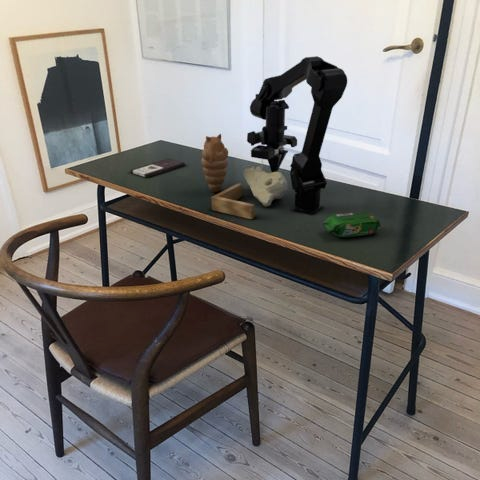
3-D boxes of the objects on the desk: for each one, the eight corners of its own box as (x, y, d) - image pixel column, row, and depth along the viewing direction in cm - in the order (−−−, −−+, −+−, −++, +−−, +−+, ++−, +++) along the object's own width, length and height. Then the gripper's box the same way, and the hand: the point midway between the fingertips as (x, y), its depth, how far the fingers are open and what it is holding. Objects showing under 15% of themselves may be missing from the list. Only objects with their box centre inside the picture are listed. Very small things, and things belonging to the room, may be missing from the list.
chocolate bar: (184, 162, 193) (146, 174, 182) (184, 165, 194) (147, 177, 182) (168, 158, 198) (130, 169, 187) (168, 160, 199) (130, 172, 188)
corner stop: (276, 203, 160) (276, 191, 158) (251, 219, 150) (251, 206, 148) (238, 195, 167) (237, 183, 164) (211, 210, 157) (211, 197, 154)
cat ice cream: (210, 198, 165) (207, 139, 155) (197, 191, 170) (194, 134, 160) (233, 192, 169) (232, 135, 159) (220, 186, 174) (218, 129, 164)
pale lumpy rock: (290, 213, 159) (296, 170, 163) (279, 201, 153) (285, 157, 157) (247, 220, 167) (253, 179, 171) (235, 209, 161) (242, 166, 165)
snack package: (318, 231, 142) (319, 213, 139) (371, 225, 145) (374, 207, 142) (327, 242, 137) (329, 224, 134) (383, 235, 139) (386, 217, 136)
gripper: (268, 114, 168) (267, 162, 177) (235, 126, 155) (236, 178, 164) (299, 118, 163) (296, 168, 172) (267, 130, 150) (267, 184, 159)
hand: (274, 174), depth 167 cm, fingers closed
